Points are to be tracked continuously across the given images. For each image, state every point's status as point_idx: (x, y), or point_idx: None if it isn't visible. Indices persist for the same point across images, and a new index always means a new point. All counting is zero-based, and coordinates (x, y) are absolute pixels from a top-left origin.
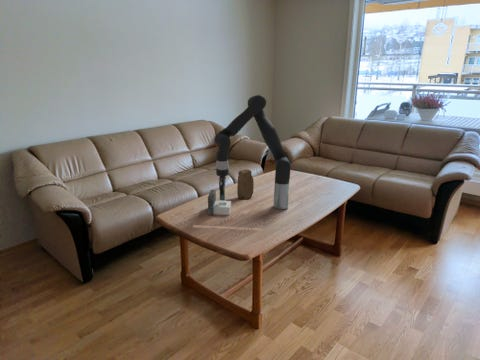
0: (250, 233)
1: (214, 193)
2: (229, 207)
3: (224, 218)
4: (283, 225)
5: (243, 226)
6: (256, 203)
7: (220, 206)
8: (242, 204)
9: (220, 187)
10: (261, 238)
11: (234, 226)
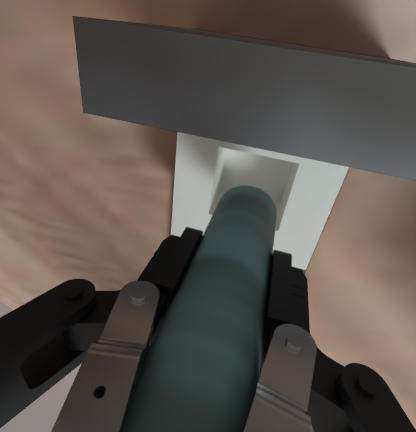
0: (35, 253)
1: (273, 149)
2: (171, 234)
3: (171, 162)
4: None
5: (89, 242)
6: (378, 368)
7: (189, 167)
8: (391, 306)
9: (111, 324)
10: (13, 277)
11: (79, 203)
